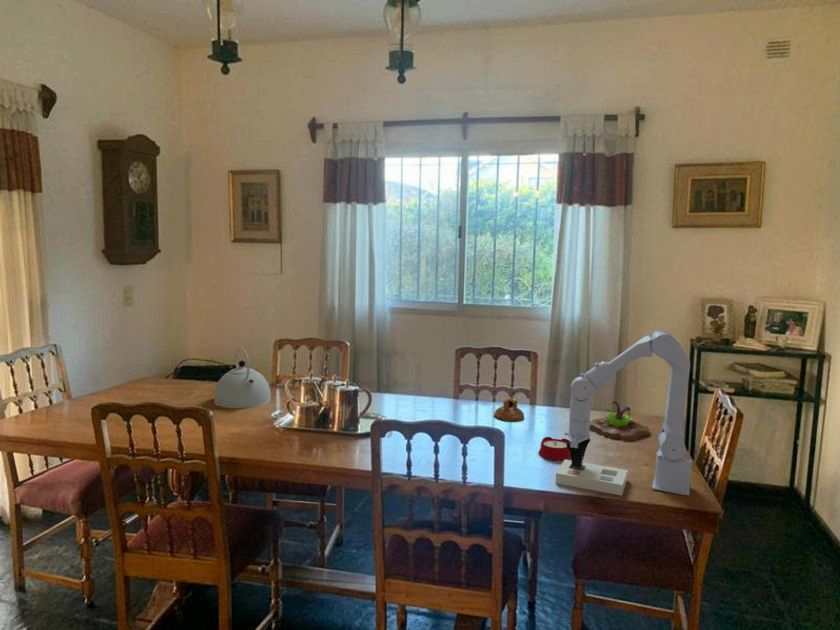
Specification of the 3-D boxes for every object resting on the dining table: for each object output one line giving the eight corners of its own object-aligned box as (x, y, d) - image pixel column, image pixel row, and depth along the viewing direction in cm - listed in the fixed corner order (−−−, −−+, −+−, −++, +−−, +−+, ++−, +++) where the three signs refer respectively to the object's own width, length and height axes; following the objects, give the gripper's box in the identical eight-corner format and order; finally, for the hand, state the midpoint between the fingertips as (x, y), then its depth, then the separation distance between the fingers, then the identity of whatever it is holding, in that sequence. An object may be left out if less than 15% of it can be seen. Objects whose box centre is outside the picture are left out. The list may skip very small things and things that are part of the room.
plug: (582, 471, 175) (584, 443, 174) (581, 475, 173) (582, 446, 172) (572, 469, 177) (573, 441, 176) (570, 473, 174) (572, 444, 173)
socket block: (627, 480, 173) (627, 469, 173) (621, 495, 162) (622, 484, 162) (564, 469, 181) (564, 458, 180) (555, 483, 170) (556, 472, 170)
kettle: (280, 405, 245) (279, 350, 242) (223, 412, 233) (222, 355, 230) (260, 391, 266) (260, 341, 263) (208, 398, 254) (206, 345, 251)
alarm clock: (537, 449, 188) (541, 425, 201) (536, 466, 190) (541, 441, 203) (571, 453, 185) (573, 428, 198) (570, 470, 187) (572, 445, 200)
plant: (612, 420, 232) (613, 392, 231) (657, 434, 217) (659, 404, 215) (577, 429, 221) (579, 399, 220) (623, 444, 205) (625, 412, 204)
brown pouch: (523, 413, 239) (523, 396, 238) (524, 422, 227) (525, 404, 226) (493, 412, 240) (494, 394, 239) (493, 421, 228) (494, 402, 227)
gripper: (570, 410, 181) (568, 454, 183) (560, 423, 168) (558, 470, 170) (594, 414, 178) (592, 458, 180) (586, 427, 165) (583, 474, 167)
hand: (577, 464), depth 174 cm, fingers closed on plug, 3 cm apart
